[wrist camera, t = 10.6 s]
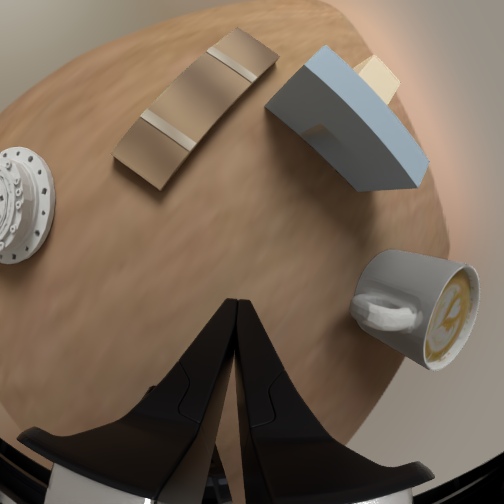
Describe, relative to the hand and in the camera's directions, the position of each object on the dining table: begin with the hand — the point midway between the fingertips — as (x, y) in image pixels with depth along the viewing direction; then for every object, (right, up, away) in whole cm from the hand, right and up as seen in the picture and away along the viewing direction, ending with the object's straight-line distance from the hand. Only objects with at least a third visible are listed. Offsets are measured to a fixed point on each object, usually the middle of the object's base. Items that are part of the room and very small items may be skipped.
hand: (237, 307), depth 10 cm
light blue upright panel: (+10, +16, +14) cm, 23 cm away
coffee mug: (+14, -2, +18) cm, 23 cm away
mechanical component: (-20, +6, +7) cm, 22 cm away
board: (-4, +15, +10) cm, 18 cm away
